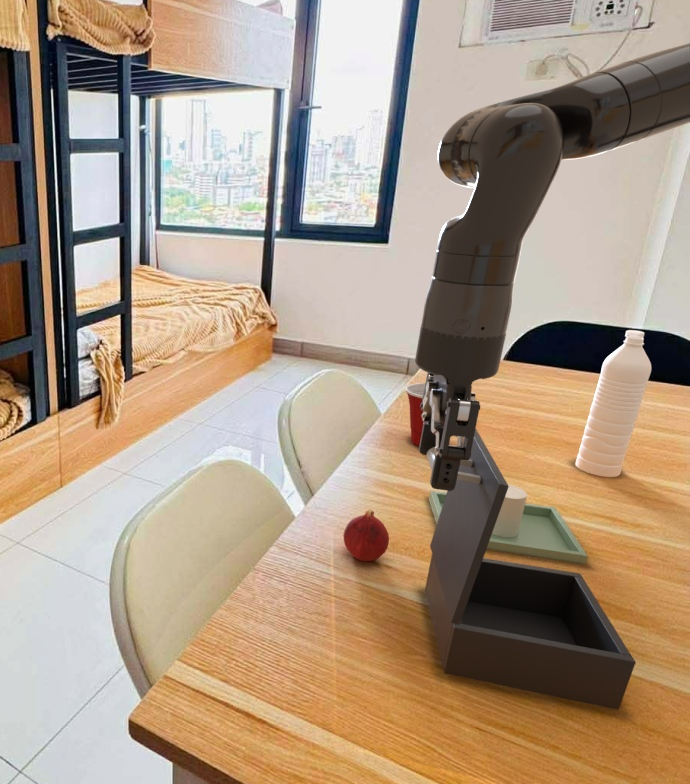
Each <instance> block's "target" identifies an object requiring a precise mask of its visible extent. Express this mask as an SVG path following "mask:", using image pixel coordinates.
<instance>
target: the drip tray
mask: <svg viewBox="0 0 690 784" xmlns="http://www.w3.org/2000/svg"><path fill="white" fill-rule="evenodd" d="M446 494H447V492H443V491H436V490H430V492H429V496H428V501H429V504H430V508H431V511H432V514H433V518H434V520H435V523H436V525H437V522H438V519H439V516H440V513H441V510H442V507H443V503H444V500H445V497H446ZM486 550H490V551H494V552H495V551H496V552H502V553H510V554H514V555H521V556H528V557H534V558H541V559H546V560H547V559H548V560H552V561H553V560H554V561H560V562H568V563H573V564H580V565H586V564H587V560H588V557H589V555H588V554H587V552H586V551H585V549H584V547H583V546H582V545H581V544H580V541H578V538H577V537H576V536H575V534H574V533H573V531H572V530H571V528H570V526H569V525H568V524H567V522H566V521H565V520H564V518H563V516H562V514H561V513H560V512H559V511H558V509H557V507H555V506H548V505H540V504H533V503H525V507H524V511H523V514H522V518H521V522H520V526H519V530H518V534H517V535H516V536H515V537H500V536H496V535H493V534H492V535H491V538H490V540H489V543H488V546H487V549H486Z"/></svg>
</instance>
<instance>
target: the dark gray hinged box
mask: <svg viewBox="0 0 690 784" xmlns="http://www.w3.org/2000/svg"><path fill="white" fill-rule="evenodd" d="M424 593H425V596H426V602H427V605H428V609H429V613H430V619H431V622H432V627H433V630H434V635H435V639H436V644H437V647H438V652H439V656H440V660H441V665H442V669H443V673H444V674H446V675H451V676H457V677H462V678H465V679H470V680H474V681H480V682H484V683H489V684H494V685H500V686H503V687H509V688H512V689H518V690H522V691H527V692H532V693H536V694H541V695H547V696H551V697H555V698H559V699H560V698H561V699H566V700H569V701H575V702H579V703H584V704H589V705H593V706H599V707H604V708H607V709H613V710H619V709H620V708H621V704H622V702H623V699H624V696H625V693H626V690H627V689H628V685H629V682H630V679H631V677H632V674H633V671H634V668H635V665H636V660H635V659H634V657H633V656H632V654H631V652H630V651H629V649H628V647H627V646H626V645H625V643H624V641H623V639H622V638H621V637H620V635H619V633H618V631H617V630H616V628H615V626H614V625H613V624H612V622H611V620H610V619H609V617H608V616H607V614H606V612H605V611H604V609H603V608H602V606H601V604H600V603H599V601H598V599H597V598H596V596H595V594H594V593H593V591H592V590H591V588H590V587H589V585H588V584H587V582H586V580H585V579H584V577H583V575H582V574H581V573H580V572H575V571H574V572H573V571H568V570H567V571H566V570H563V569H556V568H548V567H541V566H536V565H530V564H523V563H517V562H511V561H504V560H499V559H492V558H486V557H485V558H484V557H483V560H482V563H481V566H480V568H479V571H478V574H477V577H476V580H475V582H474V585H473V588H472V591H471V594H470V596H469V599H468V602H467V605H466V608H465V610H464V613H463V616H462V619H461V622H460V624H459V625H457V624H454V623H451V620H450V616H449V613H448V609H447V605H446V602H445V598H444V595H443V591H442V587H441V584H440V580H439V576H438V573H437V569H436V565H435V562H434V558H433V555H432V554H431V557H430V562H429V567H428V572H427V577H426V581H425V587H424Z"/></svg>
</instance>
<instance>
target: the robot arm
mask: <svg viewBox="0 0 690 784" xmlns="http://www.w3.org/2000/svg"><path fill="white" fill-rule="evenodd" d="M687 124H690V42H689V43H685V44H681V45H677V46H674V47H670V48H666V49H663V50H659V51H656V52H652V53H649V54H646V55H642V56H640V57H636V58H632V59H630V60H627V61H624V62H621V63H619V64H616V65H613V66H611V67H607V68H604V69H601V70H598V71H595V72H593V73H590V74H587V75H585V76H582V77H579V78H578V79H575V80H573V81H570V82H567V83H565V84H562V85H560V86H556V87H554V88H550V89H547V90H543V91H538V92H535V93H531V94H526V95H523V96H518V97H515V98H511V99H508V100H504V101H499V102H496V103H492V104H490V105H486V106H484V107H480V108H477V109H474V110H473V111H470V112H468V113H466V114H464V115H463V116H461V117H459V119H457V120H456V121H455V122H453V124H451V126H450V127H449V128H448V129H447V130H446V132H445V133H444V135H443V137H442V139H441V140H440V143H439V145H438V150H437V164H438V167H439V170H440V171H441V173H442V174H443V176H444V177H445V178H446V179H447V180H449V181H450V182H451V183H453V184H455V185H458V186H460V187H464V188H469V189H474V190H473V192H472V195H471V197H470V200H469V202H468V205H467V207H466V210H465V212H464V213H463V214H462V215H458V216H455V217H453V218H451V219H449V220H447V221H446V222H445V223H444V225H443V226H442V228H441V230H440V232H439V237H438V241H437V247H436V253H435V259H434V264H433V271H432V276H431V281H430V284H429V287H428V290H427V292H426V297H425V301H424V305H423V311H422V316H421V317H422V318H421V322H420V327H419V328H420V329H419V335H418V340H417V346H416V352H415V359H414V363H415V365H416V366H417V368H419V369H420V370H422V371H423V372H426V378H425V382H424V383H425V388H424V393H423V399H422V403H421V405H420V407H421V410H422V411H423V413H422V420H423V421H426V423H425V422H424V423H423V429H422V434H421V440H420V445H419V447H418V451H419V454H421V455H422V456H427V452H428V450H429V449H431V448H433V447H435V458H434V463H433V469H432V471H431V473H430V480H429V484H430V486H431V488H432V489H434V490H440V491H446V492H447V491H452V490H454V489H455V485H456V480H457V476H458V471H459V466H460V461H461V460H469V459H470V457H471V449H472V444H473V439H474V434H475V429H476V430H477V423H478V417H479V413H480V410H481V404H480V400H476V398H477V397H476V393H475V392H472V388H473V386H472V385H473V383H474V382H476V381H478V380H487V379H490V378H493V377H495V376H496V375H497V374H498V372H499V369H500V365H501V359H502V355H503V350H504V346H505V341H506V336H507V332H508V328H509V324H510V323H509V322H510V317H511V315H512V308H513V301H514V287H515V281H516V276H517V272H518V268H519V263H520V259H521V253H522V247H523V243H524V239H525V237H526V235H527V233H528V231H529V229H530V228H531V226H532V224H533V222H534V220H535V219H536V217H537V216H538V215H537V214H538V213H539V211H540V208H541V206H542V205H543V202H544V200H545V198H546V197H547V194H548V192H549V190H550V188H551V186H552V184H553V182H554V180H555V178H556V175H557V173H558V171H559V168H560V165H561V162H562V161H566V160H567V161H568V160H577V159H584V158H589V157H594V156H598V155H601V154H605V153H606V152H610V151H614V150H616V149H618V148H622V147H626V146H627V145H630V144H634V143H636V142H639V141H642V140H644V139H647V138H651V137H653V136H656V135H659V134H662V133H664V132H667V131H671V130H673V129H676V128H678V127H681V126H684V125H687ZM442 423H444V424H442ZM452 437H456V440H457V442H456V443H457V445H454V444H450V441H451V438H452Z"/></svg>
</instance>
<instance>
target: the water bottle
mask: <svg viewBox="0 0 690 784" xmlns="http://www.w3.org/2000/svg"><path fill="white" fill-rule="evenodd" d="M624 337H625V339H624V340H623V344H622V345H620V346H619V347H618V348H616V349H615V350H614V351H612V353H610V354H609V355H608V356H607V357H606V358H605V359H604V361H603V362H602V365H601V370H600V375H599V378H598V381H597V385H596V389H595V392H594V396H593V399H592V400H593V401H592V403H591V406H590V409H589V414H588V417H587V421H586V424H585V427H584V431H583V435H582V438H581V444H580V446H579V449H578V454H577V455H576V456H577V457H576V459H575V464H574V465H575V467H577V468H578V469H579V470H581V471H582V472H585V473H588V474H591V475H593V476H594V475H595V476H598V477H603V478H604V477H605V478H616V477H619V476H620V475H621V472H622V470H623V465H624V464H623V463H624V461H625V459H626V455H627V451H628V449H629V446H630V440H631V438H632V433H633V432H634V429H635V425H636V421H637V420H638V415H639V411H640V408H641V404H642V400H643V399H644V395H645V391H646V390H647V389H646V388H647V385H648V381H649V379H650V376H651V373H652V363H651V361H650V358H649V356H648V355H647V353H646V350H645V349H644V348H643V346H644V345H645V343H644V340H645V339H644V337H645V332H644V331H642V330H635V329H628V330H626V331H625V335H624Z"/></svg>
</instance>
